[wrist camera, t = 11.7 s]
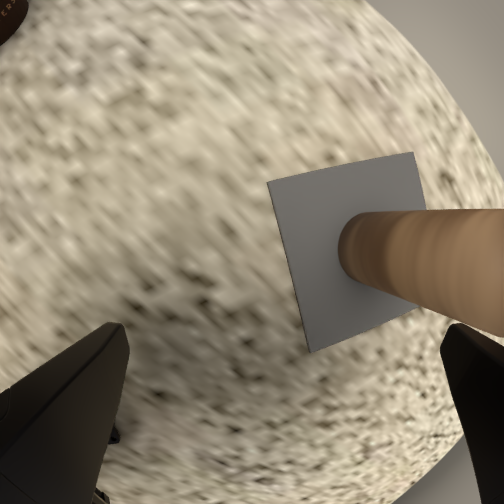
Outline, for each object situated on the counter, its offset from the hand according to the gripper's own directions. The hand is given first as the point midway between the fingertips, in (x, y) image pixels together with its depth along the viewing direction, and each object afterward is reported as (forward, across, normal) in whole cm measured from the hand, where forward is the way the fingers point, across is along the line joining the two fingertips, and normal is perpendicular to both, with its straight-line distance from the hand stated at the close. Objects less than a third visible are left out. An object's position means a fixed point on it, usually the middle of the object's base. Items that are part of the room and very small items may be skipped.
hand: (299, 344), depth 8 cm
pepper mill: (+13, -7, +3) cm, 15 cm away
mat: (+14, -7, +3) cm, 16 cm away
